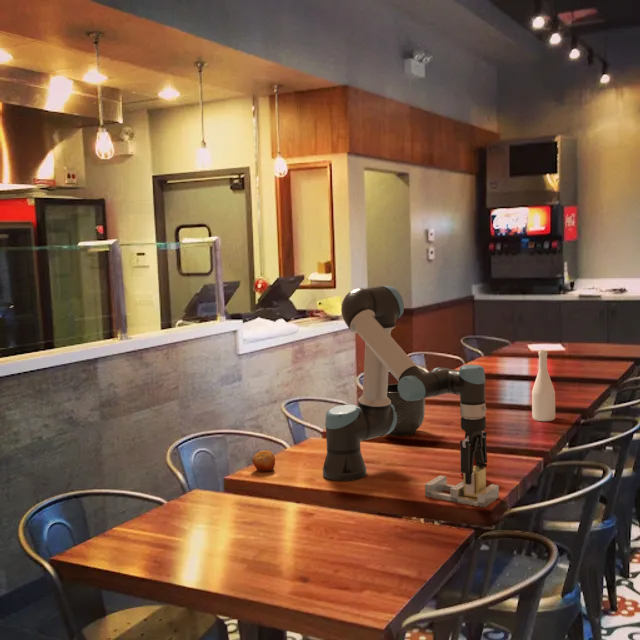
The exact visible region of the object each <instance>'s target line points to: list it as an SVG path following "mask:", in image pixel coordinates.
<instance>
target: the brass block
mask: <svg viewBox="0 0 640 640" xmlns="http://www.w3.org/2000/svg"><path fill="white" fill-rule="evenodd" d="M486 469H487V467H479V466H473V473H474V486H475V494H474V495H471V494H465V473H463V481H464V497H467V498H472V499H478V495H477V494H478V493H479V492H481V491H482V490H484V489H485V488H487V470H486Z"/></svg>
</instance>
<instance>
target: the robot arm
mask: <svg viewBox="0 0 640 640" xmlns="http://www.w3.org/2000/svg"><path fill="white" fill-rule="evenodd" d="M340 309H341V315H342V320H343V321H344V323H345V325H346V326H347V328H348V329H349V330H350V331H351V332H352V333H354V334H358V336H359V337H360V338H361V339H362V340H363V342H364V343H365V344H364V345H365V346H364V347H365V348H364V362H363V363H364V365H363V381H362V382H363V385H362V395H361V396H360V397H358V400H357V405H355V404H341V405H337V406H334V407H332V408H330V409H328V410H327V411H326V413H325V423H324V425H325V434H326V435H325V437H326V457H325V460H324V461H323V462H324V463H323V467H322V477H324V478H325V479H328V480H329V481H330V480H331V481H339V482H343V481H344V482H346V481H348V482H349V481H355V480H359V479H362V478H364V477H366V476H367V466H366V463H365V461H364V458H363V454H362V450H361V442H363V441H367V440H371V439H376V438H382V437H384V436H387V435H390V432H392V431H393V429H394V428H395V426H396V422H397V413H396V412H395V408H394V406H393V405H392V404H391V400H390V399H389V398H388V397H387V388H388V384H389V372H390V374H391V375H392V376H393V378H395V380H397V382H398V383H397V384H398V391H399V393H400V396H401V397H402V398H403V399H404V400H406V401H415V400H421V399H424V398H425V399H427V398H432V397H439V396H442V395H446V394H447V395H448V394H450V395H456V396H459V403H460V405H459V406H460V408H459V409H460V411H459V412H460V413H459V415H460V416H461V417H460V429H461V430H462V431H464V433H465V434H464V439H463V440H460V441H459V444H460V446H461V462H460V474H461V473H465V494H471V495H474V494H475V486H474V473H473V465H474V456H475V462H476V466H479V467H485V468H487V466H488V464H487V463H488V451H487V450H488V449H487V431H485V430H486V429H487V417H485V416H486V415H487V414H486V411H487V407H486V380H487V379H486V374H485V368H484V367H483V366H482V365H479V364H465V365H461V366H460V367H459V370H458V369H454V368H453V369H452V368H447V367H434V368H433V369H431V371H428V372H423V371H422V369H420V368H419V367H418V366H417V364H415V362H414V361H413V360H412V359H411V358H410V356H408V353H406V352H405V350H403V348H402V347H401V346H400V345H399V344H398V343H397V341H396V340H395V339H394V338H393V337H392V334H391V333H392V330H393V329H396V325H397V324H396V323H397V320H398V319H400V318H401V317H402V315H403V314H404V309H405V303H404V298H403V296H402V295H401V293H400V291H399V289H397V288H396V287H394V286H391V285H379V286H376V285H375V286H371V287H370V286H368V287H358V288H354V289H352V290H351V291H349V292H348V293H347V294H346V295H345V296H344V298H343V300H342V302H341V308H340Z"/></svg>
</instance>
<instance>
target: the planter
mask: <svg viewBox="0 0 640 640" xmlns="http://www.w3.org/2000/svg"><path fill="white" fill-rule="evenodd" d="M387 397H388V398H389V399H390V400H391V404H392V405H393V406H394V408H395V412H396V413H397V422H396V426H395V428H394V429H393V431H392V432H390V433H389V435H391V436H394V437H395V436H396V437H408V436H413V435H414V434H415V433H416V432H417V430H418V429H419V428H420V427H421V426H422V425H423V422H424V419H425V413H426V398H424V399H421V400H415V401H406V400H404V399H403V398H402V397H401V396H400V393H399V391H398V383H390V384H389V383H388V388H387ZM415 435H416V434H415Z"/></svg>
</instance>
